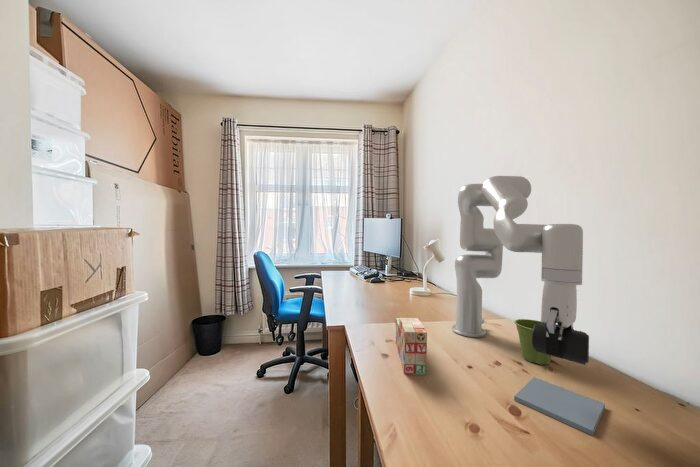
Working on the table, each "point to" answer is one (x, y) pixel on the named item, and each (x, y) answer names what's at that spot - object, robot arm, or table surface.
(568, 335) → the end cap
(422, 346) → the stack of blocks
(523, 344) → the plant pot
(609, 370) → the table surface
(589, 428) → the slate mat
